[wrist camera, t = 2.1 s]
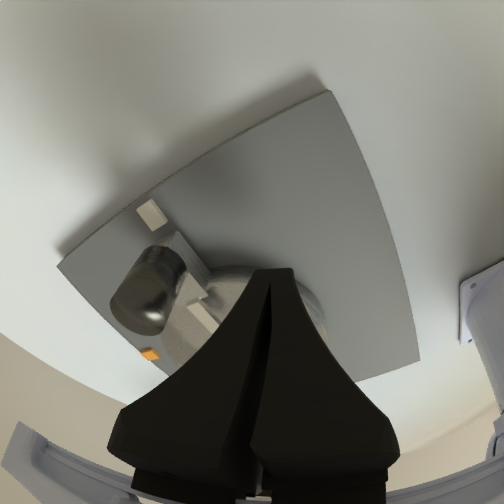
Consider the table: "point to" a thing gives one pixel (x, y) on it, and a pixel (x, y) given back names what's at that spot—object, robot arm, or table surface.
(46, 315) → the table surface
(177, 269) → the dial
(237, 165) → the panel
